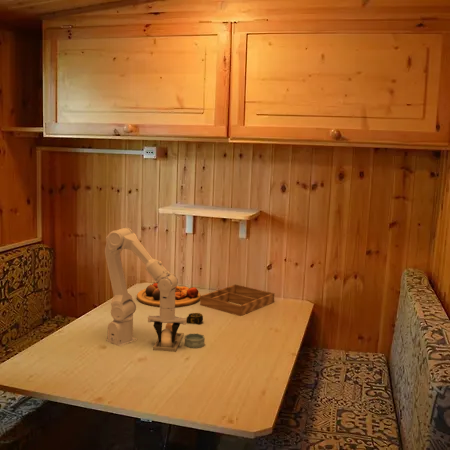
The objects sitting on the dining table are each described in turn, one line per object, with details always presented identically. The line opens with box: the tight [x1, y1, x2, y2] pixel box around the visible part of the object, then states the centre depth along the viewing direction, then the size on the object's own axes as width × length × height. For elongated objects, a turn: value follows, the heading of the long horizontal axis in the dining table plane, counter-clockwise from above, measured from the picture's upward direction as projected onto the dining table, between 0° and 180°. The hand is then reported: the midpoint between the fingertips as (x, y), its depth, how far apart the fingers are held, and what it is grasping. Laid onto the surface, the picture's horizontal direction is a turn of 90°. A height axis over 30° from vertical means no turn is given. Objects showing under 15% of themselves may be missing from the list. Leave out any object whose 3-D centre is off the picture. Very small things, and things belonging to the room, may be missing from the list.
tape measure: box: [186, 312, 204, 325], centre depth 227 cm, size 7×7×4 cm
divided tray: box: [152, 332, 185, 353], centre depth 202 cm, size 16×9×2 cm, turn 174°
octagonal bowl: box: [184, 333, 205, 349], centre depth 201 cm, size 8×8×4 cm
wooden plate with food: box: [136, 281, 202, 308], centre depth 262 cm, size 32×32×8 cm
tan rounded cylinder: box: [161, 328, 173, 348], centre depth 198 cm, size 4×4×7 cm
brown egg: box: [164, 323, 178, 340], centre depth 205 cm, size 4×4×7 cm
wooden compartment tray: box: [199, 284, 275, 317], centre depth 256 cm, size 29×24×4 cm
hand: (166, 341), depth 198 cm, fingers closed on tan rounded cylinder, 4 cm apart
